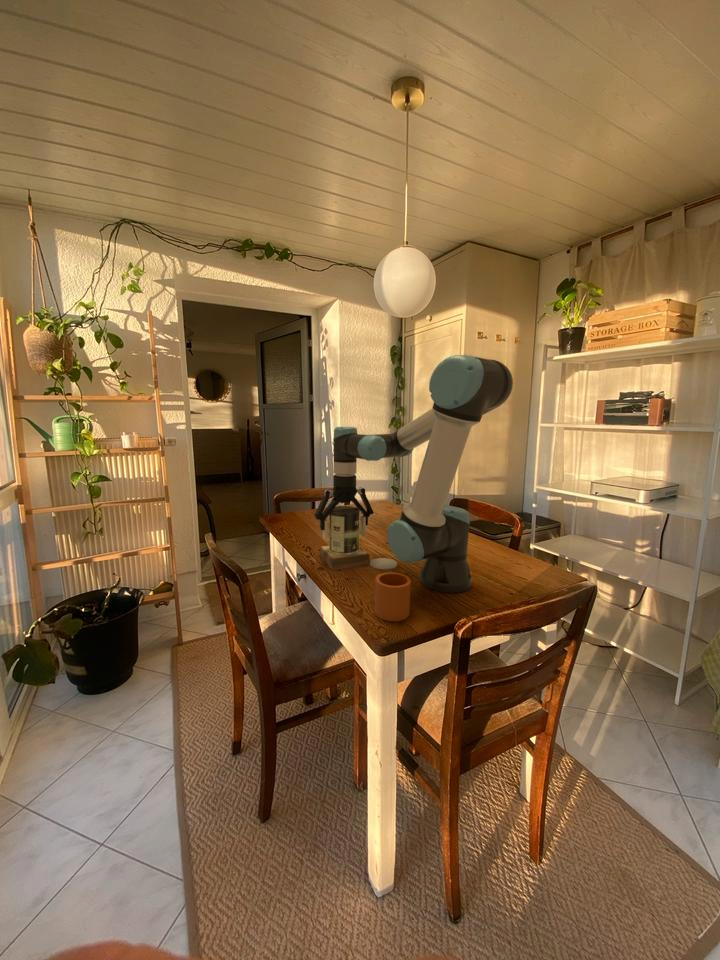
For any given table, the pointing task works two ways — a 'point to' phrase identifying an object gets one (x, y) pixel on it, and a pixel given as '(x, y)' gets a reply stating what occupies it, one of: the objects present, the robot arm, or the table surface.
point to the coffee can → (344, 530)
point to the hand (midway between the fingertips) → (344, 537)
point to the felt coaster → (383, 563)
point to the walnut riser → (344, 559)
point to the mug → (392, 596)
